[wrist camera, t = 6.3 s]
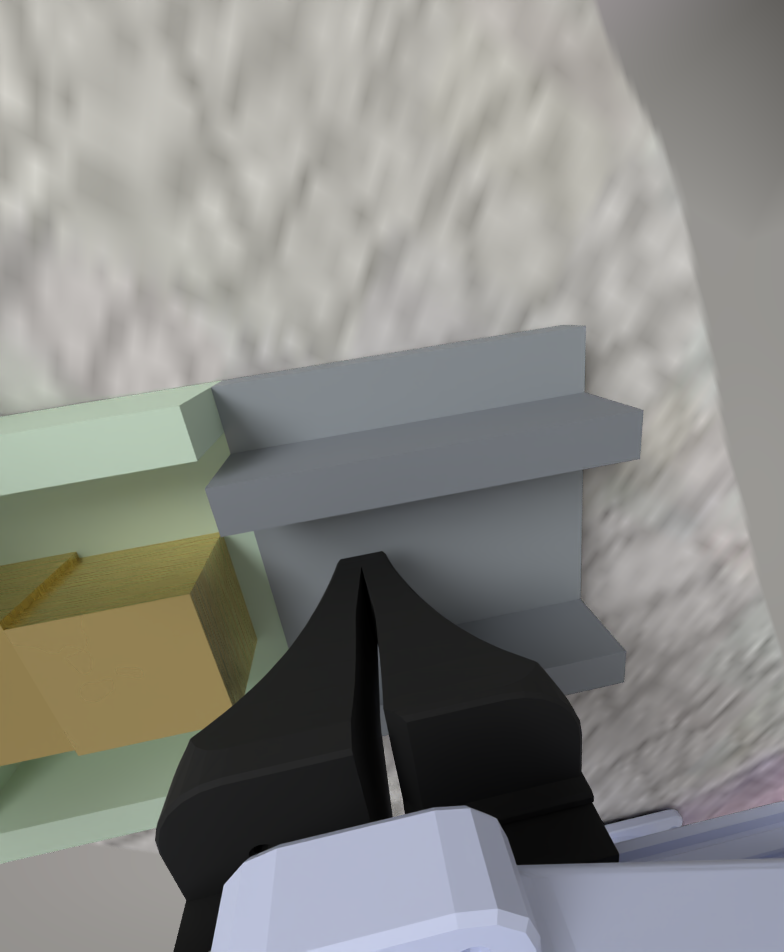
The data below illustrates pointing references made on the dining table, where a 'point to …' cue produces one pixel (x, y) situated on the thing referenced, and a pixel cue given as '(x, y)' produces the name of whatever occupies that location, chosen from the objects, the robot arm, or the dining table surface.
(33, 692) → the chip
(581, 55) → the dining table surface
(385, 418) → the green and grey tray
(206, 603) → the chip
